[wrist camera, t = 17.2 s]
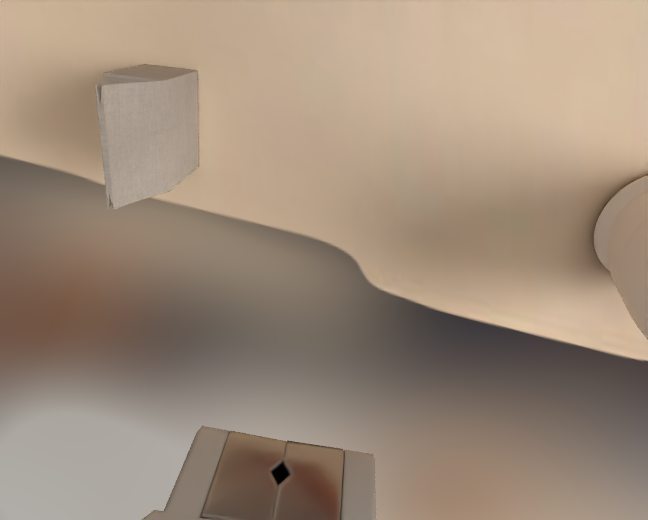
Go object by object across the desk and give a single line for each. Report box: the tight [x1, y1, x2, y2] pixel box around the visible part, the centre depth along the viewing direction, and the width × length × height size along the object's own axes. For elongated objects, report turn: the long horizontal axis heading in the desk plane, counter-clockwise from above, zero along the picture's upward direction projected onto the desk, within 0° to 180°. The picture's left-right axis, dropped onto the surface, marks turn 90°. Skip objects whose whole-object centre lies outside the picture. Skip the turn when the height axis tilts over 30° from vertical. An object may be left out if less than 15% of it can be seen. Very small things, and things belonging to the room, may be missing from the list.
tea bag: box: [95, 64, 199, 210], centre depth 31 cm, size 4×7×10 cm, turn 174°
